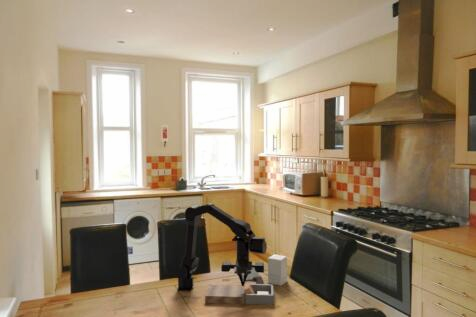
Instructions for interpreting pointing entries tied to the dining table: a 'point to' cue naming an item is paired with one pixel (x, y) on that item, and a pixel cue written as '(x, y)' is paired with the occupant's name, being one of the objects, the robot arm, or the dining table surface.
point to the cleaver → (254, 277)
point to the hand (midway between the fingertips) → (243, 285)
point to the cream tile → (262, 292)
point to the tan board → (225, 294)
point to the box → (261, 295)
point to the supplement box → (277, 269)
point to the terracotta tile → (248, 289)
